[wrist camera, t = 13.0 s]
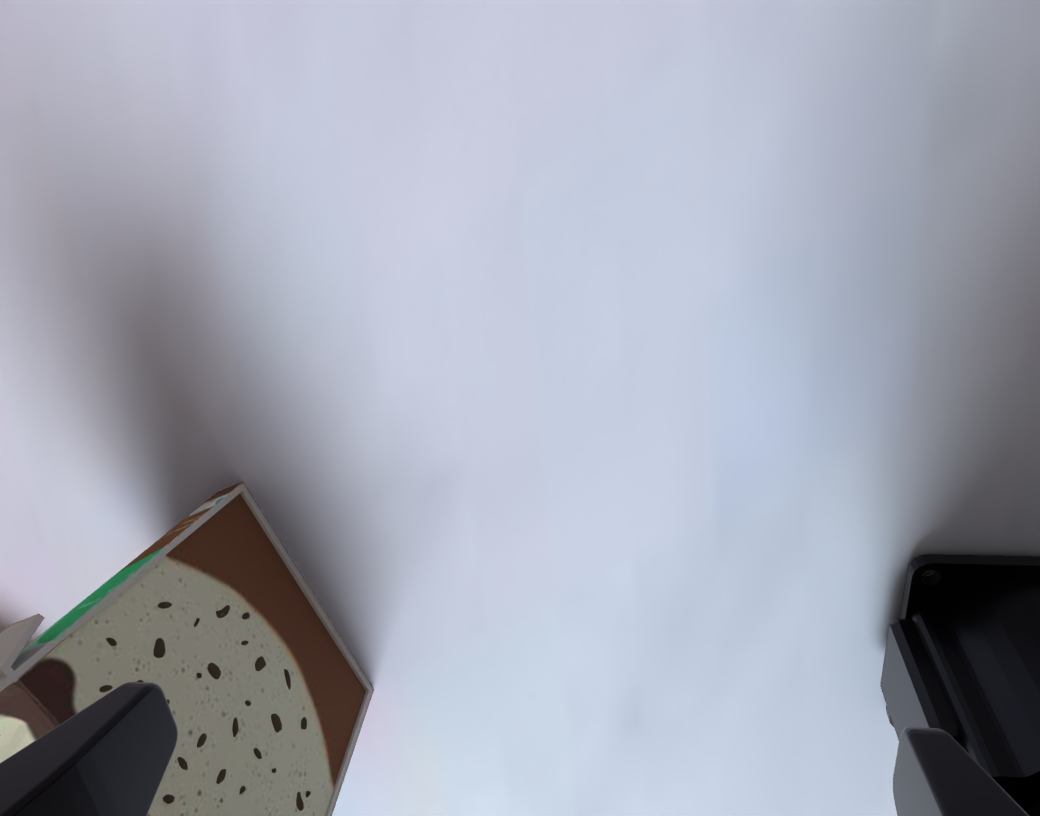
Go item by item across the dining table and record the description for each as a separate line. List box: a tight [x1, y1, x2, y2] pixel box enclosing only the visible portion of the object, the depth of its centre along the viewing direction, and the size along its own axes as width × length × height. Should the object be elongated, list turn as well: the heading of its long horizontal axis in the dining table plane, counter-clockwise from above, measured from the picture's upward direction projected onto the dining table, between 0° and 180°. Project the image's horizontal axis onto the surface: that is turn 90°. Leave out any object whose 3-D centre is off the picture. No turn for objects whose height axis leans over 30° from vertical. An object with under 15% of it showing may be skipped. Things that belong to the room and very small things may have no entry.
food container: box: [0, 482, 374, 816], centre depth 23 cm, size 12×6×10 cm, turn 23°
